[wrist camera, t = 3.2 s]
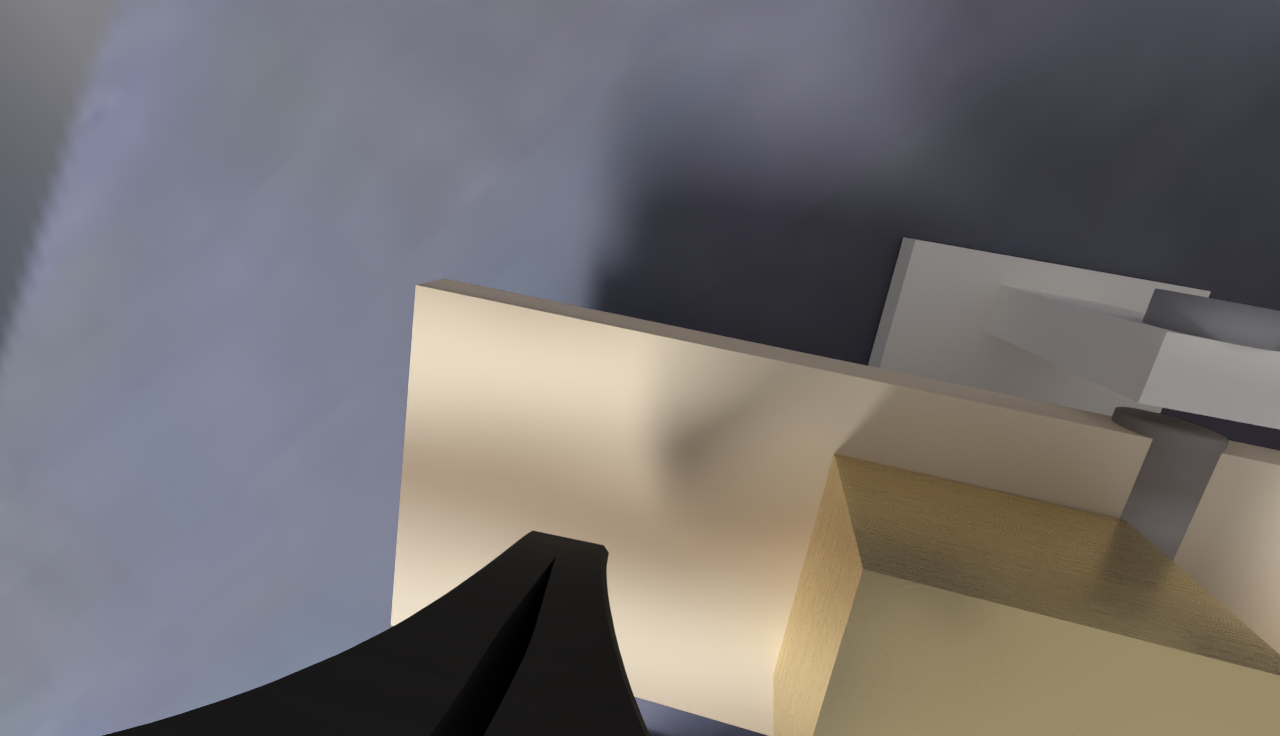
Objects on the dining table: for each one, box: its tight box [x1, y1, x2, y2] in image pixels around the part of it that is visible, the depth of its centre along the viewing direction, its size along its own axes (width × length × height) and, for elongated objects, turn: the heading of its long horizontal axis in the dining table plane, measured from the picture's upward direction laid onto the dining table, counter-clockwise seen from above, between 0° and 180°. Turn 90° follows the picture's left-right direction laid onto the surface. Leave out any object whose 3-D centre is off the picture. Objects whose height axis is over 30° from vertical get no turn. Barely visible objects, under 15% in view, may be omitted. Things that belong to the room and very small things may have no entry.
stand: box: [868, 237, 1280, 429], centre depth 15 cm, size 13×7×7 cm, turn 170°
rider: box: [773, 453, 1280, 736], centre depth 10 cm, size 5×5×4 cm
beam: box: [391, 279, 1280, 736], centre depth 13 cm, size 8×28×4 cm, turn 80°
